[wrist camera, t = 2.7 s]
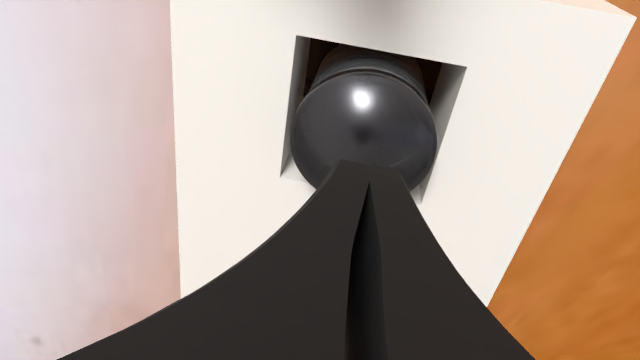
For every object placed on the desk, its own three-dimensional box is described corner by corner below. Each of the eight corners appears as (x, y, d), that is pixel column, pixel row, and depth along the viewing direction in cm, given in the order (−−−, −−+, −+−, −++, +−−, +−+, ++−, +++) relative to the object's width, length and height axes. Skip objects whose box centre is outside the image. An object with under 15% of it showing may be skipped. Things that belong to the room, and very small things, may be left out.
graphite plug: (441, 44, 14) (456, 91, 11) (410, 150, 16) (415, 216, 13) (320, 22, 14) (299, 61, 11) (305, 129, 16) (283, 191, 13)
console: (582, -11, 13) (636, 17, 10) (430, 336, 22) (436, 404, 19) (215, -77, 14) (167, -68, 11) (210, 290, 22) (182, 350, 19)
